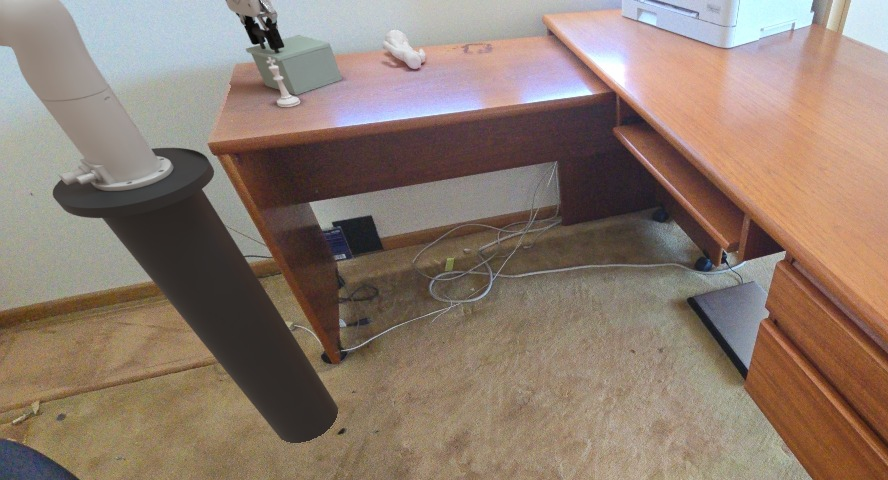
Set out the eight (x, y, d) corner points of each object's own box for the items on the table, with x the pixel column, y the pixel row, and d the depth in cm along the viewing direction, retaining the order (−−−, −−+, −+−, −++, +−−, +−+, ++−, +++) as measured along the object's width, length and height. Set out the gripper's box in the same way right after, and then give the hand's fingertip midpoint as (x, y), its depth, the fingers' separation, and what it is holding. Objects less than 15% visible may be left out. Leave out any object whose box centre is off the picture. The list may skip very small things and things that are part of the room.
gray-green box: (296, 95, 126) (281, 60, 121) (265, 85, 130) (250, 51, 124) (342, 79, 135) (330, 46, 129) (312, 71, 139) (300, 38, 133)
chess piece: (274, 102, 123) (253, 56, 116) (296, 97, 125) (277, 52, 118) (281, 108, 120) (260, 62, 113) (303, 104, 123) (284, 58, 116)
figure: (372, 46, 149) (391, 70, 138) (373, 21, 145) (393, 44, 134) (413, 55, 156) (434, 78, 145) (415, 31, 152) (437, 53, 141)
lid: (278, 61, 120) (267, 36, 117) (246, 52, 124) (235, 27, 120) (330, 46, 129) (322, 22, 126) (300, 38, 133) (291, 15, 129)
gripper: (186, -51, 110) (230, 43, 123) (236, -41, 105) (277, 56, 117) (220, -55, 115) (260, 36, 128) (270, -46, 109) (306, 48, 122)
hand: (268, 45), depth 122 cm, fingers closed on lid, 6 cm apart
